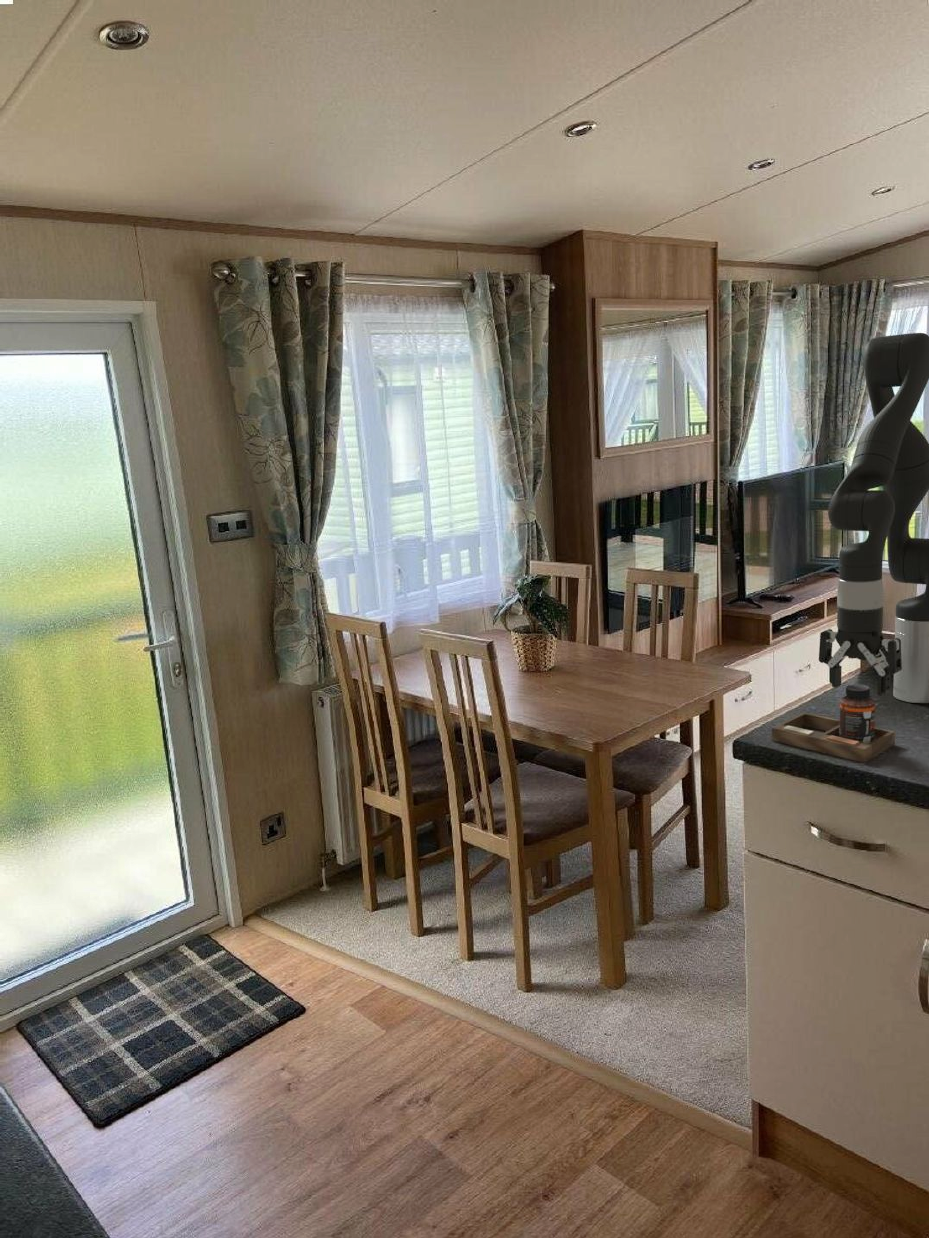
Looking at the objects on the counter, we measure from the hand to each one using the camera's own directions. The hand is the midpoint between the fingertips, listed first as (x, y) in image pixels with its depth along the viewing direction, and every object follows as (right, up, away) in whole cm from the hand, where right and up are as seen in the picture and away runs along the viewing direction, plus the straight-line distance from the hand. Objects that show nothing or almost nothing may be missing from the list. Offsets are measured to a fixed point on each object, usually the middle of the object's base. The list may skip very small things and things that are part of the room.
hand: (858, 690), depth 171 cm
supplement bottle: (+1, -11, +2) cm, 11 cm away
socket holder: (-3, -10, +5) cm, 12 cm away
